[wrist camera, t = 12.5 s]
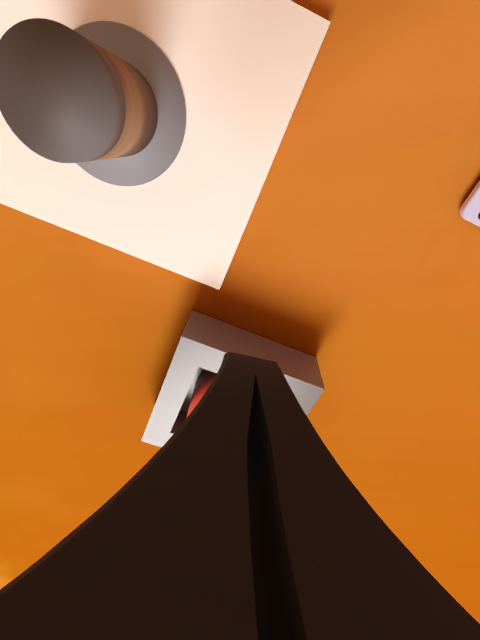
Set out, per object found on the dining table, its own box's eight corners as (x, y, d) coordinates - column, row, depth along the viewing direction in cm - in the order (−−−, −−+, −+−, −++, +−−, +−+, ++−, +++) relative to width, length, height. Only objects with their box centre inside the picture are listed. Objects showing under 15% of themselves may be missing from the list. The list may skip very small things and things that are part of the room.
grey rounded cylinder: (168, 81, 14) (126, 54, 10) (145, 169, 16) (101, 181, 11) (81, 40, 13) (-5, -8, 9) (67, 136, 15) (-12, 134, 11)
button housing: (316, 357, 21) (324, 389, 18) (262, 442, 24) (262, 479, 22) (191, 309, 19) (181, 336, 17) (154, 406, 23) (141, 440, 20)
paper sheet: (328, 25, 13) (331, 21, 13) (220, 286, 19) (219, 290, 18) (-42, -173, 11) (-57, -189, 11) (-44, 181, 17) (-54, 182, 16)
